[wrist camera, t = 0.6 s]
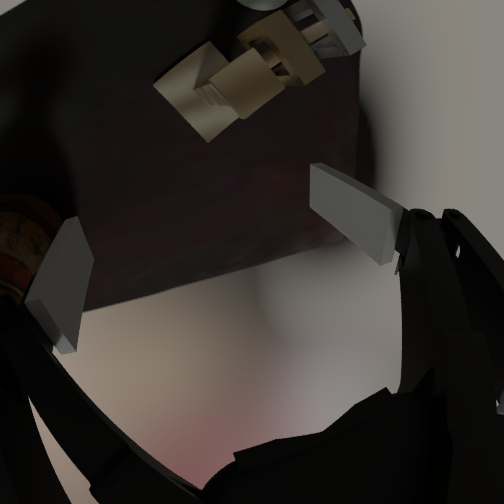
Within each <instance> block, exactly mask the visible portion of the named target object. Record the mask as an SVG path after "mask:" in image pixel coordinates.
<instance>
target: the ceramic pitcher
mask: <svg viewBox="0 0 504 504" xmlns="http://www.w3.org/2000/svg"><path fill="white" fill-rule="evenodd" d="M62 225H63V221H62V219H61V217H60V216H59V215H58V213H57V212H56V211H55V210H54V209H53V208H52V207H51V206H50V205H49V204H48V203H46V202H45V201H43V200H42V199H40V198H38V197H36V196H33V195H29V194H25V193H10V194H6V195H3V196H0V295H2V294H5V293H10V294H11V295H12V297H13V299H14V300H15V302H16V303H17V305H18V306H19V304H20V302H21V300H22V297H23V295H24V292H25V290H26V288H27V286H28V284H29V281H30V279H31V278H32V277H33V276H34V274H35V273H36V272H37V271H38V270H39V268H40V266H41V264H42V262H43V260H44V258H45V256H46V254H47V252H48V250H49V248H50V246H51V244H52V243H53V241H54V239H55V237H56V235H57V233H58V232H59V230H60V228H61V226H62Z"/></svg>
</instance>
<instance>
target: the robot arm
mask: <svg viewBox="0 0 504 504" xmlns="http://www.w3.org/2000/svg"><path fill="white" fill-rule="evenodd" d="M310 208H312V209H313V210H314V211H315V212H317V213H318V214H319V215H321V216H322V217H323V218H324V219H326V220H327V221H328V222H329V223H331V224H332V225H333V226H334V227H335V228H337V229H338V230H339V231H340V232H341V233H343V234H344V235H345V236H346V237H348V238H349V239H350V240H351V241H352V242H354V243H355V244H356V245H357V246H358V247H360V248H361V249H362V250H363V251H364V252H365V253H366V254H367V255H369V256H370V257H371V258H372V259H373V260H374V261H376V262H377V263H378V264H379V265H380V266H381V265H383V264H386V263H388V262H391V261H392V259H393V255H394V250H396V251H397V252H399V253H400V255H399V259H398V263H397V267H396V271H395V275H397V272H398V271H399V276H400V290H401V309H402V365H401V382H400V386H399V389H398V391H397V393H395V394H391V393H390V391H389V390H388V389H387V387H385V388H383V389H382V390H380V391H378V392H376V393H375V394H373V395H371V396H369V397H368V398H366V399H364V400H362V401H360V402H359V403H357V404H355V405H354V406H353V407H351V408H350V409H349V410H348V411H347V412H346V413H345V414H343V415H342V416H341V417H340V418H339V419H338V420H336V421H335V422H334V423H333V424H332V425H330V426H329V427H328V428H327V429H325V430H324V431H322V432H319V433H315V434H309V435H303V436H296V437H291V438H283V439H275V440H272V441H270V442H267V443H263V444H260V445H257V446H254V447H251V448H248V449H245V450H241V451H237V452H234V453H233V455H234V457H235V461H234V462H231V463H230V464H228V465H226V466H225V467H224V468H222V469H221V470H219V471H218V472H217V473H216V474H215V475H214V476H213V477H212V478H211V479H210V480H209V481H208V482H207V483H206V485H205V486H204V488H203V489H202V490H201V489H199V488H197V487H196V486H194V485H193V484H191V483H189V482H188V481H186V480H185V479H183V478H182V477H180V476H178V475H177V474H175V473H174V472H172V471H171V470H169V469H168V468H166V467H165V466H164V465H162V464H161V463H160V462H159V461H157V460H156V459H155V458H153V457H152V456H151V455H149V454H148V453H147V452H146V451H145V450H143V449H142V448H141V447H140V446H139V445H137V444H136V443H135V442H134V441H133V440H132V439H130V438H129V437H128V436H127V435H126V434H125V433H124V432H123V431H122V430H121V429H119V428H118V427H117V426H116V425H115V424H114V423H113V422H112V421H111V420H110V419H109V418H108V417H107V416H106V415H105V414H104V413H103V412H102V411H101V410H100V409H99V408H98V407H97V406H96V405H95V404H94V402H93V401H92V400H91V399H90V398H89V397H88V396H87V395H86V394H85V393H84V391H83V390H82V389H81V388H80V387H79V386H78V384H77V383H76V382H75V381H74V380H73V378H72V377H71V376H70V375H69V374H68V372H67V371H66V370H65V369H64V367H63V366H62V365H61V363H60V362H59V361H58V359H57V358H56V357H55V356H54V354H53V353H52V351H53V345H54V346H55V347H56V348H57V350H58V351H59V352H60V353H61V354H67V353H72V352H76V350H77V342H78V335H79V329H80V323H81V316H82V311H83V306H84V301H85V296H86V291H87V287H88V282H89V278H90V274H91V270H92V266H93V262H94V258H93V255H92V253H91V251H90V248H89V246H88V243H87V241H86V238H85V235H84V233H83V230H82V227H81V225H80V222H79V219H78V216H75V217H72V218H69V219H66V220H65V221H64V223H63V225H62V226H61V228H60V230H59V232H58V233H57V235H56V237H55V239H54V241H53V243H52V244H51V246H50V248H49V250H48V252H47V254H46V256H45V258H44V260H43V262H42V264H41V266H40V268H39V270H38V271H37V272H36V273H35V274H34V276H33V277H32V278H31V279H30V281H29V284H28V286H27V288H26V290H25V292H24V295H23V297H22V300H21V302H20V304H19V306H18V305H17V303H16V302H15V300H14V299H13V297H12V295H11V294H10V293H5V294H2V295H0V504H72V503H71V502H70V500H69V498H68V496H67V494H66V493H65V491H64V489H63V487H62V485H61V483H60V481H59V479H58V477H57V475H56V473H55V471H54V468H53V466H52V464H51V462H50V459H49V457H48V455H47V452H46V450H45V447H44V445H43V442H42V439H41V437H40V434H39V431H38V428H37V425H36V422H35V419H34V416H33V413H32V409H31V406H30V402H29V398H30V400H31V402H32V404H33V405H34V407H35V409H36V410H37V412H38V414H39V415H40V417H41V418H42V420H43V422H44V423H45V425H46V426H47V428H48V429H49V431H50V432H51V434H52V435H53V437H54V438H55V440H56V441H57V442H58V444H59V445H60V446H61V448H62V449H63V450H64V452H65V453H66V454H67V456H68V457H69V458H70V459H71V461H72V462H73V463H74V464H75V465H76V467H77V468H78V469H79V470H80V472H81V473H82V474H83V475H84V476H85V477H86V479H87V480H88V481H89V482H90V485H91V486H90V488H89V490H90V492H91V494H92V496H93V497H94V498H95V499H96V501H97V502H98V503H99V504H504V260H503V259H502V258H501V256H500V255H499V254H498V253H497V251H496V250H495V249H494V248H493V247H492V245H491V244H490V243H489V242H488V241H487V240H486V238H485V237H484V236H483V235H482V234H481V233H480V231H479V230H478V229H477V228H476V227H475V226H474V225H473V224H472V223H471V222H470V221H469V220H468V218H467V217H466V216H464V215H463V214H462V213H461V212H459V211H458V210H455V209H444V212H443V215H442V218H438V219H437V218H435V217H434V215H433V214H432V213H430V212H428V211H426V210H423V209H411V210H410V211H408V210H407V209H405V208H404V207H403V206H401V205H399V204H398V203H396V202H394V201H392V200H391V199H389V198H387V197H386V196H384V195H382V194H380V193H379V192H377V191H375V190H373V189H371V188H370V187H368V186H366V185H364V184H362V183H360V182H358V181H357V180H355V179H353V178H351V177H349V176H347V175H345V174H343V173H341V172H339V171H337V170H335V169H333V168H331V167H329V166H327V165H325V164H323V163H316V164H310ZM458 246H460V254H459V257H458V258H457V256H456V252H457V249H458ZM28 397H29V398H28ZM496 400H497V401H498V403H499V405H498V406H496Z"/></svg>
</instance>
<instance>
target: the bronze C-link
mask: <svg viewBox="0 0 504 504" xmlns="http://www.w3.org/2000/svg"><path fill="white" fill-rule="evenodd" d="M237 38H238V39H239V41H240V42H241V43H242V44H243V45H244V46H245V48H246V49H247V50H249V49H251V48H253V47H254V46H256V45H258V44H259V43H261V42H262V41H264V40H265V42H266V43H267V44H268V45H269V47H270V48H271V49H272V50H273V52H274V53H275V54H276V56H277V57H278V58H279V60H280V61H281V63H279V64H278V65H276V66H275V67H273V68H272V69H271V70H272V71H273V73H274V74H275V75H276V76H277V78H278V79H279V80H280V82H281V83H282V85H283V86H299V85H306V84H308V83H309V82H311V81H312V80H313V79H315V78H316V77H318V76H319V75H321V74H322V73H324V72H325V69H324V68H323V66H322V65H321V63H320V62H319V60H318V59H317V57H316V56H315V54H314V53H313V51H312V50H311V48H310V47H309V46H308V44H307V43H306V41H305V40H304V39H303V37H302V36H301V35H300V33H299V32H298V31H297V29H296V28H295V27H294V25H293V24H292V23H291V21H290V20H289V19H288V18H287V16H286V15H285V14H284V13H283V11H282V10H279V11H277V12H275V13H273V14H271V15H269V16H267V17H266V18H264V19H262V20H260V21H259V22H257V23H255V24H254V25H252V26H251V27H249V28H248V29H247V30H245V31H244V32H242V33H241V34H239V35H238V36H237Z"/></svg>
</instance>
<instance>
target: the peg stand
mask: <svg viewBox="0 0 504 504" xmlns="http://www.w3.org/2000/svg"><path fill="white" fill-rule="evenodd" d="M344 10H345V11H346V13H347V14H348V16H349V17H350V19H351V20H354V19H356V18H355V17H354V15H353V14H352V12H351V11H350V9H349V8H346V9H344ZM299 33H300V35H301V36H302V37H303V39H304V40H305V41H306V43H307V44H309V43H311V42H313V41H314V40H316V39H318V38H320V37H321V36H323V35H325V34H327V33H328V32H327V31H326V30H325V28H324V27H323V25H322V24H321V22H320V21H317V22H315V23H313V24H311V25H310V26H308V27H306V28H304V29H302V30H300V31H299ZM279 62H281V61H280V60H279V58H278V57H277V56H276V54H275V53H274V52H273V50H272V49H271V48H270V49H269V50H267V51H265V52H264V53H262V54H261V55H259V54H258V52H257V51H256V50H255V49H254V48H251V49H249V50H248V51H246V52H245V53H243V54H242V55H240V56H239V57H238V58H236V59H235V60H233V61H232V62H230V63H229V62H228V61H227V60H226V59H225V57H224V56H223V55H222V54H221V53H220V52H219V51H218V50H217V49H216V47H215V46H214V45H213V44H212V43H211V42H210V41H208V42H207V43H206V44H204V45H203V46H201V47H200V48H198V49H197V50H196V51H194V52H193V53H192V54H190V55H189V56H188V57H186V58H185V59H184V60H182V61H181V62H180V63H179V64H177V65H176V66H175V67H174V68H172V69H171V70H170V71H169V72H167V73H166V74H165V75H164V76H163V77H162V78H160V79H159V80H158V81H157V82H156V83H155V84H153V86H154V87H155V88H156V89H157V90H158V91H159V92H160V93H161V94H162V95H163V96H164V97H165V98H166V99H167V100H168V101H169V102H170V103H171V104H172V105H173V106H174V108H175V109H176V110H177V111H178V112H179V113H180V114H181V115H182V116H183V117H184V118H185V119H186V120H187V121H188V122H189V123H190V124H191V125H192V126H193V127H194V129H195V130H196V131H197V132H198V133H199V134H200V135H201V136H202V137H203V138H204V139H205V140H206V141H207V142H208V143H209V142H210V141H211V140H212V139H213V138H214V137H215V136H217V135H218V134H219V133H220V132H221V131H222V130H224V129H225V128H226V127H227V126H228V125H230V124H231V123H232V122H233V121H234V120H236V119H237V118H238V117H240V118H241V119H246V118H247V117H248V116H249V115H251V114H252V113H253V112H254V111H256V110H257V109H258V108H260V107H261V106H262V105H263V104H265V103H266V102H267V101H269V100H270V99H271V98H273V97H274V96H275V95H277V94H278V93H279V92H281V91H282V90H284V89H285V87H284V86H283V85H282V83H281V82H280V80H279V79H278V78H277V76H276V75H275V74H274V73H273V71H272V70H271V69H270V68H272V67H273V66H275V65H276V64H277V63H279Z"/></svg>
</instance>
